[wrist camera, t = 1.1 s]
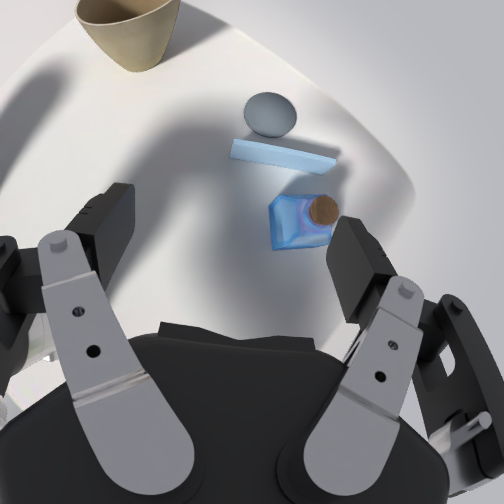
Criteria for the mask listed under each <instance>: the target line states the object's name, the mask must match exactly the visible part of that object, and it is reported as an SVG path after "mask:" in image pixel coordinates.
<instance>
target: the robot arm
mask: <svg viewBox="0 0 504 504" xmlns="http://www.w3.org/2000/svg"><path fill="white" fill-rule="evenodd" d="M134 227H135V188H134V185H133V184H126V183H116V182H115V183H113V184H112V186H111V187H110V188H109V189H108V190H107V191H106V192H105V193H104V194H99V195H97V196H95V197H93V198H92V199H90V200H89V201H88V202H87V203H86V205H85V206H84V208H82V209H81V210H80V211H79V214H77V215H76V216H75V217H74V218H73V220H72V221H71V222H70V223H69V224H68V226H67V227H66V228H65V229H64V230H59V231H55V232H52V233H49V234H48V235H46V236H45V237H43V238H42V239H41V240H40V242H39V244H38V247H36V248H27V249H18V245H17V242H16V239H15V238H14V237H12V236H0V504H447V499H448V498H451V497H454V496H457V495H459V494H462V493H464V492H467V491H471V490H474V489H476V488H478V487H480V486H482V485H484V484H486V483H488V482H490V481H492V480H494V479H496V478H498V477H499V476H500V475H502V474H503V473H504V381H503V378H502V376H501V374H500V371H499V369H498V367H497V365H496V362H495V361H494V358H493V356H492V354H491V352H490V350H489V348H488V345H487V343H486V341H485V339H484V337H483V336H482V334H481V332H480V330H479V328H478V326H477V324H476V322H475V320H474V319H473V317H472V315H471V313H470V311H469V310H468V308H467V306H466V305H465V304H464V303H463V302H462V301H461V300H460V299H458V298H457V297H455V296H453V295H450V294H445V295H443V296H442V298H441V299H440V300H439V302H438V303H437V304H436V303H434V302H431V301H428V300H425V299H424V294H423V292H422V290H421V289H420V288H419V286H418V285H417V284H416V283H414V282H413V281H411V280H410V279H407V278H405V277H402V276H398V274H397V273H396V271H395V269H394V267H393V266H392V264H391V262H390V260H389V259H388V257H386V256H387V255H386V254H385V252H384V251H383V249H382V247H381V245H380V244H379V242H378V241H377V240H376V239H375V238H374V237H373V236H372V235H371V234H370V233H368V231H367V230H366V228H365V226H364V225H363V223H362V221H361V220H360V219H357V218H352V217H347V216H341V217H340V218H339V220H338V222H337V225H336V228H335V230H334V233H333V236H332V238H331V241H330V243H329V246H328V249H327V254H326V261H327V265H328V268H329V271H330V274H331V277H332V280H333V283H334V286H335V289H336V292H337V295H338V298H339V301H340V304H341V307H342V310H343V313H344V317H345V320H346V323H355V324H359V326H360V330H359V332H358V333H357V335H356V337H355V339H354V340H353V342H352V344H351V346H350V348H349V349H348V351H347V353H346V355H345V356H344V358H343V360H342V361H339V360H338V359H336V358H335V357H333V356H331V355H329V354H327V353H324V352H321V351H319V350H315V345H314V340H313V338H304V337H289V336H271V337H264V338H256V339H247V340H236V339H233V338H230V337H227V336H223V335H220V334H217V333H214V332H211V331H208V330H206V329H203V328H200V327H194V326H186V325H179V324H173V323H166V322H161V323H160V327H159V331H158V333H151V334H145V335H140V336H137V337H133V338H131V339H128V340H127V338H126V336H125V334H124V332H123V330H122V328H121V326H120V324H119V322H118V320H117V318H116V316H115V314H114V312H113V310H112V308H111V306H110V303H109V301H108V299H107V297H106V295H105V290H106V288H107V286H108V284H109V281H110V279H111V277H112V275H113V273H114V271H115V269H116V267H117V265H118V263H119V261H120V259H121V257H122V255H123V253H124V251H125V249H126V247H127V245H128V243H129V241H130V239H131V237H132V235H133V232H134ZM448 344H449V346H450V349H451V351H452V354H453V356H454V358H455V368H454V371H453V372H452V374H451V375H449V376H448V377H447V374H446V371H445V368H444V366H443V363H442V361H441V358H440V356H439V354H440V353H441V352H442V351H443V350H444V349H445V347H446V346H447V345H448ZM58 358H59V361H60V364H61V367H62V370H63V373H64V376H65V379H66V382H64V383H63V384H61V385H60V386H59V387H57V388H56V389H54V390H53V391H52V392H50V393H49V394H47V395H46V396H44V397H43V398H42V399H40V400H39V401H37V402H36V403H35V404H33V405H32V406H30V407H29V408H28V409H26V410H25V411H23V412H22V413H20V414H19V415H18V416H16V417H15V418H13V419H12V420H11V421H8V419H7V406H6V403H5V400H4V399H3V398H4V395H5V392H6V389H7V386H8V383H9V380H10V377H12V376H13V375H15V374H17V373H18V372H20V371H22V370H24V369H25V368H27V367H29V366H31V365H32V364H34V363H36V362H38V361H40V360H42V359H43V360H46V361H50V362H53V361H55V360H57V359H58ZM411 377H412V380H413V384H414V387H415V391H416V394H417V398H418V401H419V405H420V409H421V412H422V416H423V420H424V424H425V428H426V432H427V437H428V442H427V441H426V440H425V439H424V438H422V437H421V436H420V435H419V434H418V433H417V432H416V431H415V430H414V429H413V428H412V427H411V426H410V425H409V424H407V423H406V422H405V421H404V420H403V419H402V418H401V417H400V416H399V413H400V410H401V407H402V405H403V402H404V398H405V396H406V393H407V390H408V387H409V384H410V380H411Z"/></svg>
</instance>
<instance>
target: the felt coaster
mask: <svg viewBox="0 0 504 504" xmlns="http://www.w3.org/2000/svg"><path fill="white" fill-rule="evenodd" d="M244 118H245V121H246V123H247V125H248V126H249V127H250V128H251V129H252V130H253V131H254V132H256V133H257V134H259V135H262V136H265V137H270V138H275V137H281V136H283V135H285V134H287V133H288V132H289V131H290V130H291V129H292V128H293V126H294V124H295V120H296V114H295V110H294V108H293V106H292V105H291V104H290V102H289V101H288V100H286V99H285V98H284V97H282V96H280V95H278V94H274V93H267V92H266V93H259V94H256V95H254V96H253V97H251V98H250V99H249V100H248V102H247V103H246V105H245V109H244Z"/></svg>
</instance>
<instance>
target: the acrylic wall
mask: <svg viewBox="0 0 504 504" xmlns="http://www.w3.org/2000/svg"><path fill="white" fill-rule="evenodd" d="M230 158H233V159H240V160H246V161H252V162H258V163H263V164H269V165H274V166H280V167H285V168H290V169H295V170H300V171H305V172H309V173H314V174H319V175H323V174H325V173H326V172H327V171H328V170H330V169H331V168H332V167H333V166H335V165H336V159H333V158H329V157H325V156H321V155H316V154H312V153H308V152H303V151H299V150H294V149H289V148H284V147H279V146H274V145H269V144H264V143H258V142H252V141H247V140H241V139H234V141H233V145H232V149H231V153H230Z"/></svg>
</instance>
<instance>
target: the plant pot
mask: <svg viewBox="0 0 504 504" xmlns="http://www.w3.org/2000/svg"><path fill="white" fill-rule="evenodd" d="M179 4H180V0H78V2H77V4H76V7H75V16H76V18H77V19H78V21H79V22H80V23H81V25H82V26H83V28H84V29H85V30H86V32H87V33H88V35H89V36H90V37H91V38H92V39H93V41H94V42H95V43H96V44H97V45H98V46H99V47H100V48H101V49H102V50H103V51H104V52H105V53H106V54H107V55H108V56H109V57H110V58H111V59H113V60H114V61H115V62H116V63H118V64H119V65H120V66H122V67H123V68H124V69H126V70H128V71H131V72H142V71H146V70H148V69H150V68H152V67H154V66H155V65H157V64H158V63H159V62H160V60H161V59H162V57H163V55H164V52H165V50H166V48H167V45H168V43H169V40H170V37H171V34H172V31H173V28H174V25H175V21H176V17H177V14H178V9H179Z"/></svg>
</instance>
